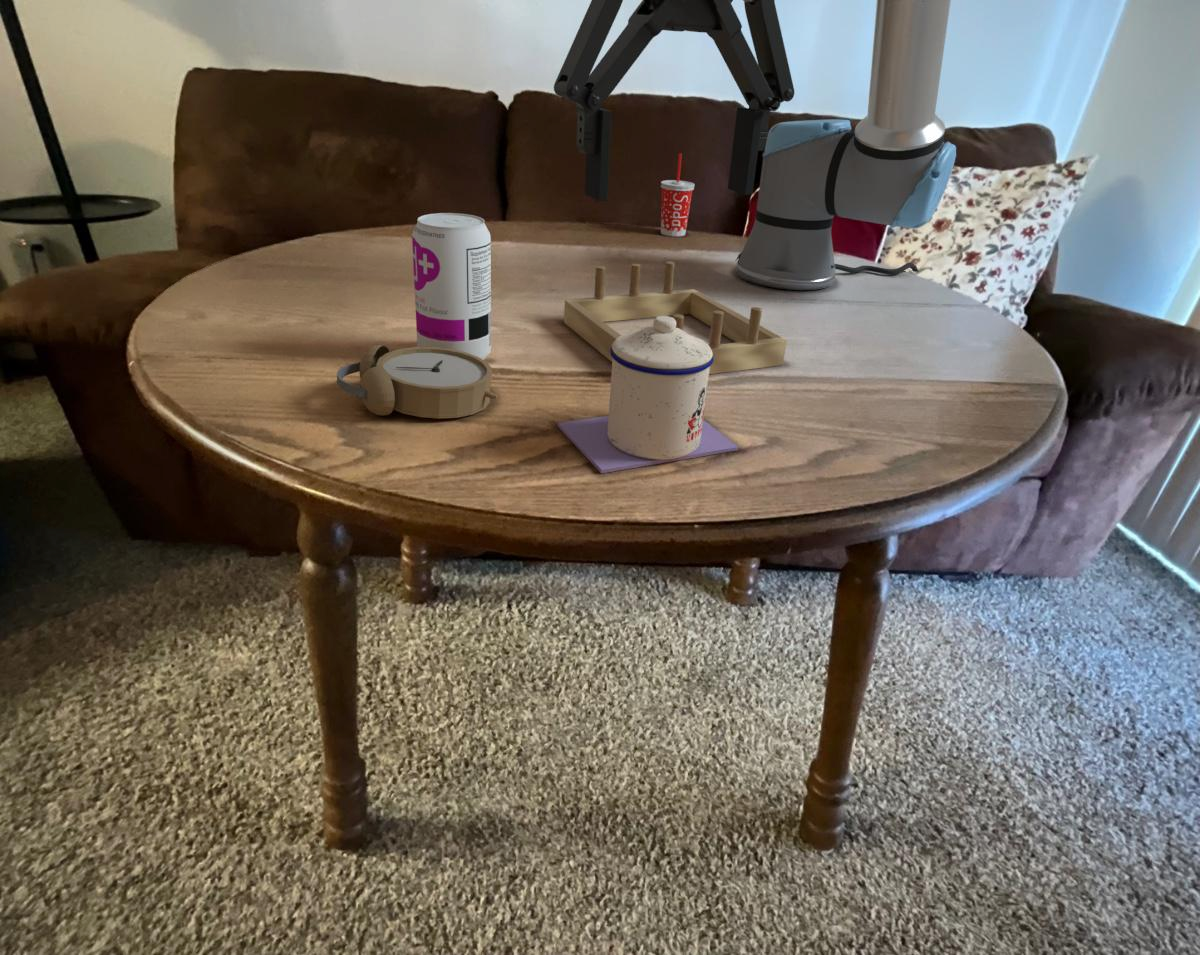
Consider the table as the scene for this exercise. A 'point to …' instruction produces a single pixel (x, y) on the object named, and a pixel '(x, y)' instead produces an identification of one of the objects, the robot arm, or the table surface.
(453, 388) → the alarm clock
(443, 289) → the supplement can
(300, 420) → the table surface
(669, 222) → the beverage cup
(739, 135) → the robot arm
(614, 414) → the teacup with lid
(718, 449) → the mat
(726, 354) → the rack
